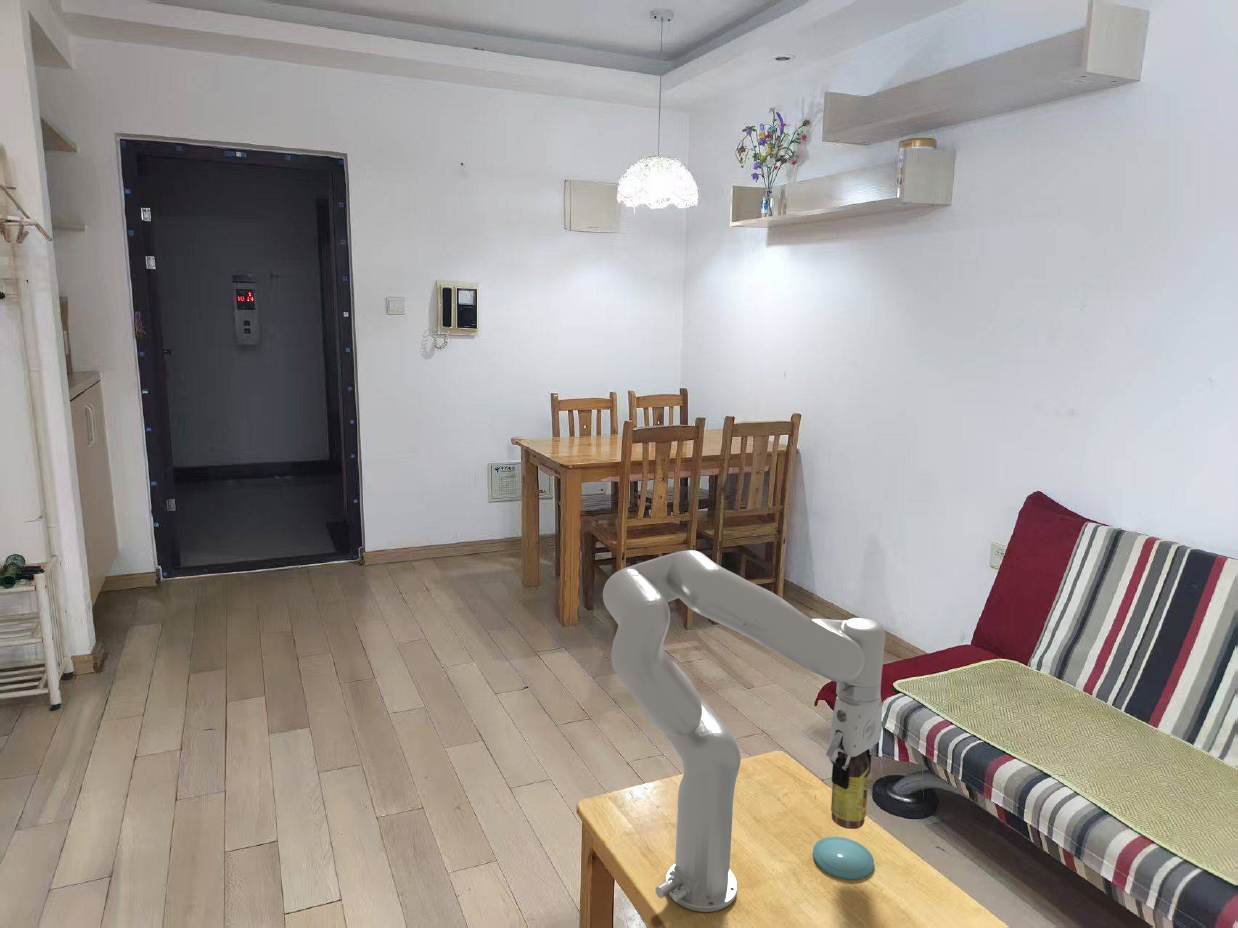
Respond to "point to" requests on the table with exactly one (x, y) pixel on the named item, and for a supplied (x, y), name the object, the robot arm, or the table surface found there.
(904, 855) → the table surface
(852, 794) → the sauce bottle
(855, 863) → the coaster
